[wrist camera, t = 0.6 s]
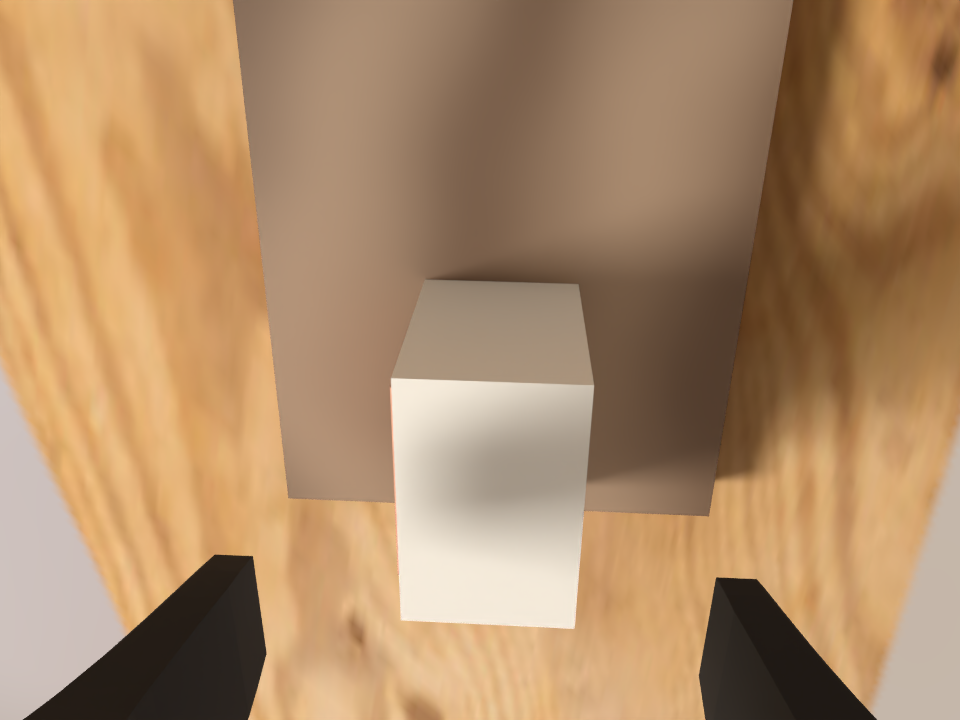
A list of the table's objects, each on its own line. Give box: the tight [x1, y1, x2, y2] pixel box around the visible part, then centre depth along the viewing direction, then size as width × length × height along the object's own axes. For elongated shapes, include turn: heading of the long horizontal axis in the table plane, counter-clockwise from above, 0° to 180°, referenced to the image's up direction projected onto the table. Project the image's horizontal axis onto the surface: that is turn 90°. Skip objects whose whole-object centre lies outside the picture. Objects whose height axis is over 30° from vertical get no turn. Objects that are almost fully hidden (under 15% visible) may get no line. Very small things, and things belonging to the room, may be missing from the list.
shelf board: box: [233, 0, 793, 516], centre depth 19 cm, size 11×14×2 cm
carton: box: [390, 279, 594, 629], centre depth 17 cm, size 6×4×5 cm, turn 179°
